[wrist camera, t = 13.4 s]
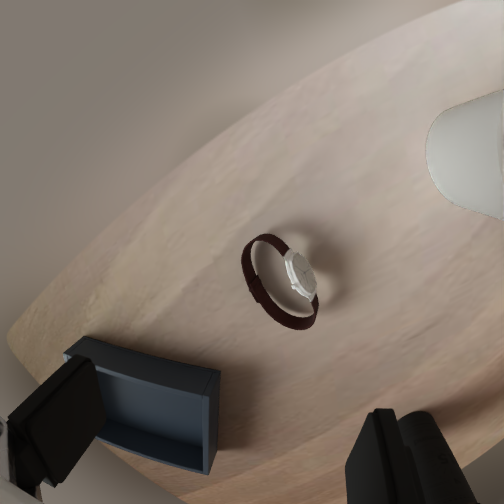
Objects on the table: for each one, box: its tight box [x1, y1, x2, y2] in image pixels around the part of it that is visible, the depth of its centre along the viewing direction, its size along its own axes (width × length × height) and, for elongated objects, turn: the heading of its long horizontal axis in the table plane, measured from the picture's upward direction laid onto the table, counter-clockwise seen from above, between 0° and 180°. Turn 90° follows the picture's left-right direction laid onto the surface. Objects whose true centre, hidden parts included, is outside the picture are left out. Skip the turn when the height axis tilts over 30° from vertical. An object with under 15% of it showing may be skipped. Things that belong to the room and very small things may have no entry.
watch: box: [241, 234, 319, 330], centre depth 23 cm, size 8×5×4 cm, turn 33°
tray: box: [63, 336, 221, 475], centre depth 29 cm, size 15×12×4 cm
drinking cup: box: [397, 412, 480, 504], centre depth 17 cm, size 8×8×20 cm
